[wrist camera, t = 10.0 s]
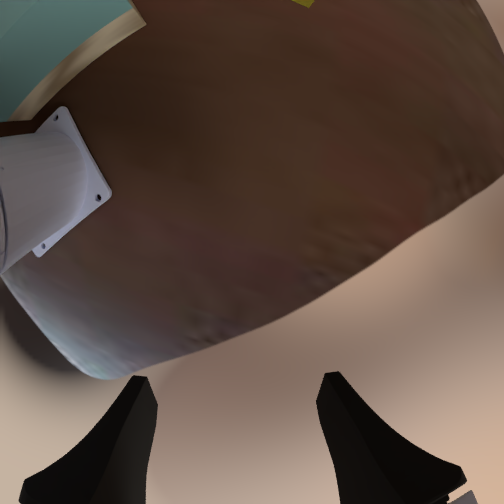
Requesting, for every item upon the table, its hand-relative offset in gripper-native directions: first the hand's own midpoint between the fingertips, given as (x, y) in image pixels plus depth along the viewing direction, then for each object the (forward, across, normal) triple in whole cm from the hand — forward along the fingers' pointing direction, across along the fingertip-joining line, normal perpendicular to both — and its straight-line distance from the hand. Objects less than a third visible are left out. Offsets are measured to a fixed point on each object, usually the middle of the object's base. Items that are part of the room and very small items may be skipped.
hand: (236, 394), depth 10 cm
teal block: (+7, +12, -17) cm, 22 cm away
